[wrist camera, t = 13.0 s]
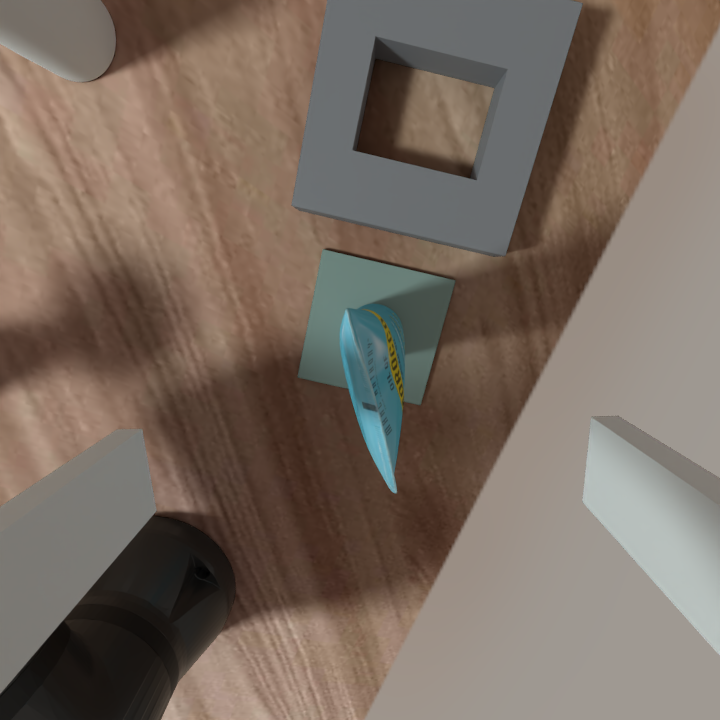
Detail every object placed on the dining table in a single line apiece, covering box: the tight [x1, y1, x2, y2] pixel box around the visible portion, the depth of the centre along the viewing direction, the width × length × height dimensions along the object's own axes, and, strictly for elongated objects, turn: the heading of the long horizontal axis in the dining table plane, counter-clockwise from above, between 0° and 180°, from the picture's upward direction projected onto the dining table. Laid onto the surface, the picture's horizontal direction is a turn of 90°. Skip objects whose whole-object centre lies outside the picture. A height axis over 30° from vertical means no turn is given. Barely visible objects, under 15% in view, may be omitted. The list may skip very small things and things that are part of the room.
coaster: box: [298, 249, 455, 405], centre depth 34 cm, size 11×11×1 cm
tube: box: [340, 304, 405, 494], centre depth 24 cm, size 7×5×19 cm, turn 20°
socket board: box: [292, 0, 583, 257], centre depth 29 cm, size 16×16×3 cm
